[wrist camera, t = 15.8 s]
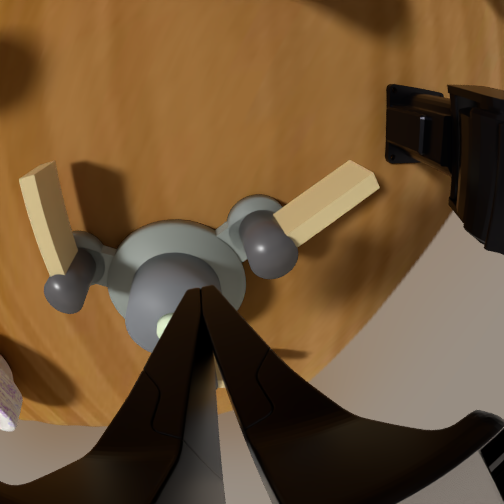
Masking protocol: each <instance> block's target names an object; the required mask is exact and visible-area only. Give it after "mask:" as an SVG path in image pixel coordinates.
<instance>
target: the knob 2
mask: <svg viewBox="0 0 504 504" xmlns="http://www.w3.org/2000/svg"><path fill="white" fill-rule="evenodd" d="M379 188H380V187H379V185H378V182H377V180H376V178H375V176H374V173H373V172H371V171H369V170H367V169H366V168H364V167H362V166H360V165H358V164H356V163H354V162H353V161H351V160H349V161H347V162H346V163H345V164H343V165H342V166H340V167H339V168H337V169H336V170H335V171H333V172H332V173H330V174H329V175H328V176H326V177H325V178H323V179H322V180H320V181H319V182H318V183H316V184H315V185H313V186H312V187H311V188H309V189H308V190H306V191H305V192H304V193H302V194H301V195H299V196H298V197H297V198H295V199H294V200H292V201H291V202H290V203H288V204H287V205H285V206H284V207H283V208H281V209H280V210H278V211H277V212H276V213H272V212H270V211H267V210H257V211H254V212H252V213H250V214H248V215H247V216H246V217H245V218H244V219H243V220H242V222H241V224H240V227H239V236H240V239H241V241H242V244H243V247H244V250H245V253H246V256H247V259H248V262H249V264H250V267H251V269H252V271H253V272H254V273H255V274H256V275H257V276H259V277H261V278H264V279H276V278H279V277H282V276H284V275H285V274H287V273H288V272H290V271H291V270H292V269H293V267H294V266H295V264H296V262H297V259H298V249H297V247H299V246H300V245H302V244H303V243H304V242H306V241H307V240H309V239H310V238H311V237H313V236H314V235H316V234H317V233H318V232H320V231H321V230H323V229H324V228H325V227H327V226H328V225H330V224H331V223H332V222H334V221H335V220H336V219H338V218H339V217H341V216H342V215H343V214H345V213H346V212H347V211H349V210H350V209H352V208H353V207H354V206H356V205H357V204H358V203H360V202H361V201H363V200H364V199H365V198H367V197H368V196H369V195H371V194H372V193H373V192H375V191H376V190H377V189H379Z"/></svg>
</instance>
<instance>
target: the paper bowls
mask: <svg viewBox="0 0 504 504" xmlns="http://www.w3.org/2000/svg"><path fill="white" fill-rule="evenodd" d="M22 401H23V400H22V395H21V393H20V391H19V389H18V388H17V386H16V385H15V383H14V382H13V375H12V372H11V369H10V367H9V365H8V364H7V362H6V361H5V359H4V358H3V357H2V356H1V355H0V429H1V430H4V431H13V430H15V429H16V427H17V421H18V418H19V414H20V410H21V406H22Z"/></svg>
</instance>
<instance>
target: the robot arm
mask: <svg viewBox="0 0 504 504" xmlns="http://www.w3.org/2000/svg"><path fill="white" fill-rule="evenodd" d="M447 87H448V93H450V99H448V98H444V96H443V94H442V93H439V92H435V91H430V90H425V89H420V88H414V87H408V86H402V85H396V84H389V85H388V86H387V89H386V91H387V110H386V150H385V159H386V161H388V162H389V163H420V162H422V163H424V164H427V165H429V166H431V167H433V168H435V169H437V170H439V171H441V172H443V173H445V174H447V175H449V176H451V193H450V197H449V203H448V204H449V206H450V207H451V208H452V209H453V211H454V212H455V213H456V214H457V216H458V217H459V218H460V219H461V221H462V222H463V223H464V228H465V230H466V231H467V232H469V233H470V234H471V235H472V236H473V237H475V238H476V239H477V240H478V241H479V242H480V243H482V244H484V248H485V249H486V250H488V251H493V252H498V253H501V254H503V255H504V91H503V90H499V89H494V88H490V87H485V86H472V85H447ZM392 88H393V89H394V92H392ZM391 155H392V158H391V159H390V157H391ZM213 352H214V353H213ZM214 355H215V359H216V362H217V365H218V368H219V371H220V374H221V376H222V379H223V382H224V385H225V388H226V391H227V394H228V396H229V399H230V402H231V405H232V407H233V410H234V412H235V415H236V418H237V420H238V423H239V426H240V428H241V431H242V433H243V436H244V439H245V441H246V443H247V446H248V448H249V451H250V453H251V456H252V458H253V461H254V463H255V465H256V468H257V470H258V472H259V475H260V477H261V479H262V482H263V484H264V486H265V488H266V491H267V493H268V495H269V497H270V499H271V502H272V504H504V428H503V427H504V419H502V418H501V417H499V416H497V415H494V414H492V413H488V412H485V411H481V410H475V411H473V412H472V413H470V414H468V415H467V416H466V417H464V418H463V419H461V420H460V421H459V422H457V423H456V424H455V425H452V426H450V427H448V428H445V429H440V430H422V429H416V428H410V427H405V426H399V425H394V424H389V423H384V422H379V421H375V420H370V419H366V418H362V417H359V416H357V415H354V414H352V413H350V412H349V411H347V410H345V409H343V408H342V407H341V406H339V405H338V404H336V403H335V402H334V401H332V400H331V399H329V398H328V397H327V396H325V395H324V394H323V393H321V392H320V391H319V390H317V389H316V388H315V387H313V386H312V385H311V384H309V383H308V382H307V381H305V380H304V379H303V378H302V377H301V376H299V375H298V374H297V373H296V372H294V371H293V370H292V369H291V368H290V367H289V366H288V365H287V364H286V363H285V362H284V361H283V360H282V359H281V358H280V357H279V356H278V355H277V354H276V353H275V352H274V351H273V350H272V349H271V348H270V347H269V346H268V345H267V344H266V342H265V341H264V340H263V339H262V338H261V337H260V336H259V335H258V334H257V333H256V332H255V330H254V329H253V328H252V327H251V326H250V325H249V324H248V323H247V322H246V321H245V319H244V318H243V317H242V316H241V315H240V314H239V313H238V312H237V310H236V309H235V308H234V307H233V306H232V305H231V304H230V303H229V301H228V300H227V299H226V298H225V297H224V296H223V295H222V293H221V292H220V291H219V290H218V289H217V288H216V286H214V285H209V286H203V287H201V289H200V288H199V287H198V288H192V289H188V290H187V291H186V292H185V294H184V296H183V297H182V299H181V301H180V303H179V304H178V306H177V308H176V310H175V312H174V313H173V315H172V317H171V319H170V321H169V322H168V324H167V326H166V328H165V330H164V331H163V333H162V335H161V337H160V339H159V340H158V342H157V344H156V346H155V348H154V350H153V352H152V353H151V355H150V357H149V359H148V361H147V363H146V365H145V367H144V368H143V370H144V371H142V372H141V374H140V376H139V378H138V380H137V381H136V383H135V385H134V387H133V388H132V390H131V392H130V394H129V396H128V397H127V399H126V400H125V402H124V403H123V405H122V406H121V408H120V410H119V411H118V413H117V414H116V416H115V417H114V418H113V420H112V421H111V423H110V424H109V426H108V427H107V429H106V430H105V432H104V433H103V435H102V436H101V438H100V439H99V441H98V442H97V444H96V445H95V446H94V447H93V449H92V450H91V451H90V452H89V453H87V454H86V455H85V456H84V457H82V458H81V459H79V460H77V461H75V462H73V463H71V464H69V465H67V466H65V467H63V468H61V469H58V470H56V471H54V472H52V473H50V474H48V475H45V476H43V477H41V478H39V479H36V480H34V481H32V482H29V483H26V484H22V485H9V484H6V483H3V482H1V481H0V504H225V503H226V502H225V493H224V484H223V474H222V464H221V453H220V443H219V429H218V415H217V400H216V383H215V364H214ZM502 428H503V429H502ZM501 429H502V430H501ZM490 439H491V440H490ZM489 440H490V441H489ZM482 446H483V447H482Z"/></svg>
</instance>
